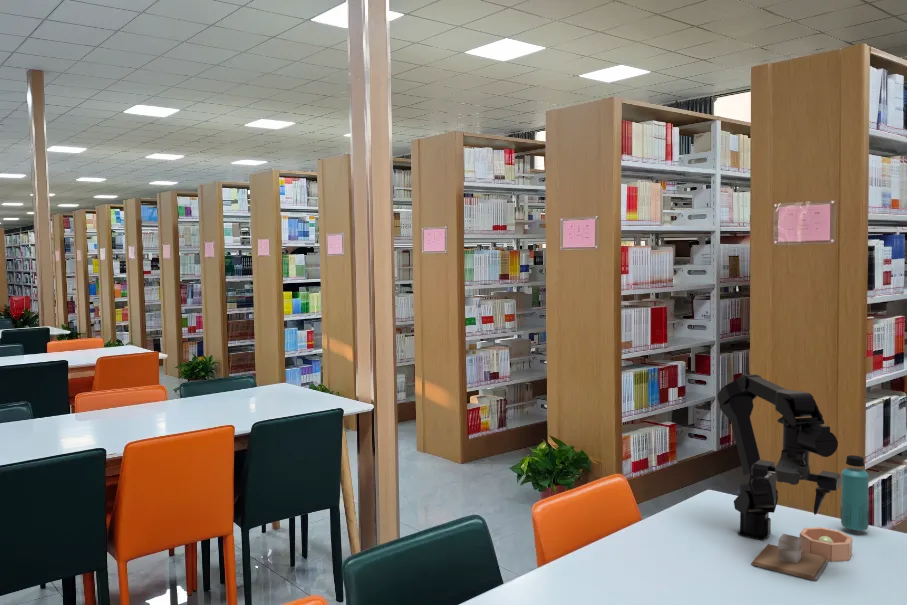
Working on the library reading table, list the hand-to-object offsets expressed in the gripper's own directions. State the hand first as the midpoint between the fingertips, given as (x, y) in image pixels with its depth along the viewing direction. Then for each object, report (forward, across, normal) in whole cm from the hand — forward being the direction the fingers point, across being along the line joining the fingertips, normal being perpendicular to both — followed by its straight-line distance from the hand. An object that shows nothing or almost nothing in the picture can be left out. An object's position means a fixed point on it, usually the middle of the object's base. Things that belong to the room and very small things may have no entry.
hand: (794, 509), depth 168 cm
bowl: (+12, +5, +9) cm, 16 cm away
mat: (+12, 0, -4) cm, 12 cm away
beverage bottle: (+12, +8, +28) cm, 32 cm away
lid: (+11, 0, -4) cm, 12 cm away
